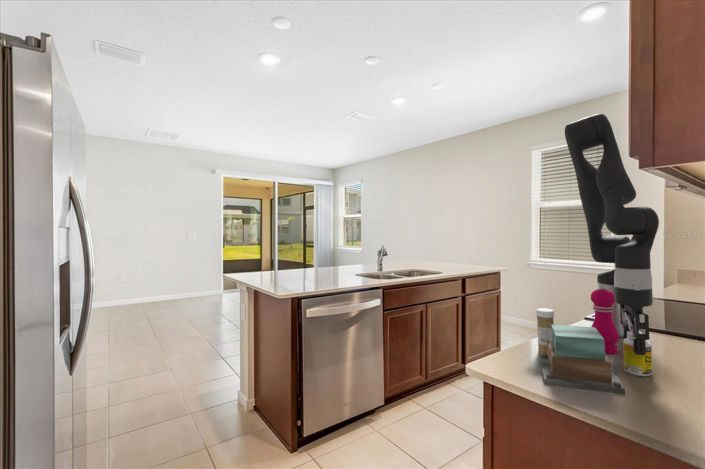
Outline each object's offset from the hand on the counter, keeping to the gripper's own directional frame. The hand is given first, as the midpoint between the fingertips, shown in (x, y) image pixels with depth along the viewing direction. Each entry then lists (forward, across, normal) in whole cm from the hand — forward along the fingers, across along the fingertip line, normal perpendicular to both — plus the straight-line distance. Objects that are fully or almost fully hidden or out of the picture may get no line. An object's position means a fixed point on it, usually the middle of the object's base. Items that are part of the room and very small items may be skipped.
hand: (634, 348), depth 88 cm
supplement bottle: (+6, 0, +1) cm, 6 cm away
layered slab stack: (+6, +6, -13) cm, 16 cm away
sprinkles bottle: (+6, -7, -19) cm, 21 cm away
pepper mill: (+6, -15, -4) cm, 17 cm away
